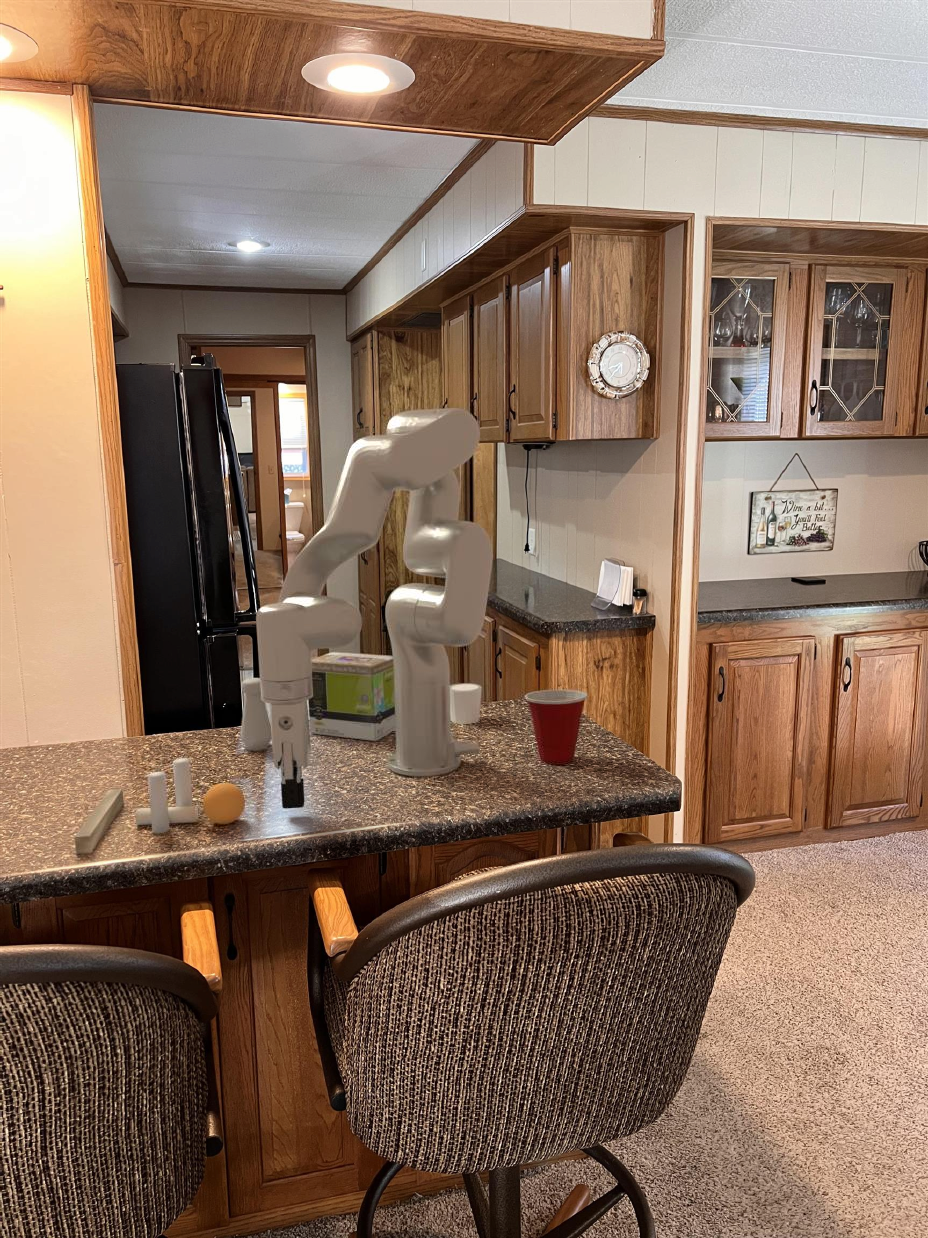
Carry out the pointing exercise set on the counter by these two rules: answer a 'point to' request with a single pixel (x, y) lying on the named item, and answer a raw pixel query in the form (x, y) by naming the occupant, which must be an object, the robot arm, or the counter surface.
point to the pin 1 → (158, 802)
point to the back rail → (99, 821)
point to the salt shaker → (254, 717)
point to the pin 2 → (182, 782)
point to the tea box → (352, 696)
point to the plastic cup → (556, 722)
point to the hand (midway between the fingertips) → (293, 805)
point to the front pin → (175, 815)
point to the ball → (223, 803)
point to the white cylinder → (465, 703)
